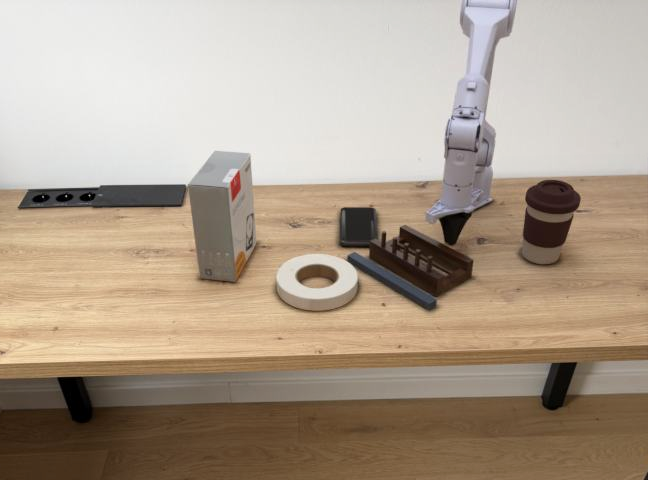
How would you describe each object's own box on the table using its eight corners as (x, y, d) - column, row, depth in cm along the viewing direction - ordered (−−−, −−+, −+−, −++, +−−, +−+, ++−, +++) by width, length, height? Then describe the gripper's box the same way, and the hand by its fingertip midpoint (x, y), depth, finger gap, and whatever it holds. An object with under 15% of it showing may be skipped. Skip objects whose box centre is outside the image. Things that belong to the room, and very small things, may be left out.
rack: (403, 241, 142) (406, 211, 138) (471, 277, 132) (476, 245, 127) (369, 258, 138) (370, 227, 133) (436, 297, 127) (439, 265, 122)
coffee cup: (508, 261, 136) (521, 192, 126) (521, 238, 143) (535, 171, 133) (559, 273, 132) (576, 203, 123) (570, 249, 139) (587, 181, 129)
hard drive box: (236, 283, 131) (226, 188, 119) (198, 279, 132) (184, 184, 120) (258, 242, 143) (250, 151, 130) (223, 239, 144) (212, 149, 132)
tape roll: (363, 270, 134) (364, 257, 132) (349, 316, 123) (349, 303, 121) (287, 261, 137) (286, 249, 135) (266, 306, 125) (265, 293, 124)
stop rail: (354, 258, 138) (354, 251, 137) (436, 306, 125) (437, 299, 124) (347, 261, 137) (347, 255, 136) (428, 310, 124) (429, 303, 123)
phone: (339, 241, 140) (340, 207, 152) (339, 246, 141) (340, 211, 153) (378, 242, 140) (376, 207, 151) (377, 247, 141) (376, 211, 152)
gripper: (448, 199, 123) (440, 263, 132) (499, 175, 130) (489, 238, 139) (419, 186, 127) (414, 249, 136) (470, 164, 134) (462, 225, 143)
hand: (450, 242), depth 138 cm, fingers closed
